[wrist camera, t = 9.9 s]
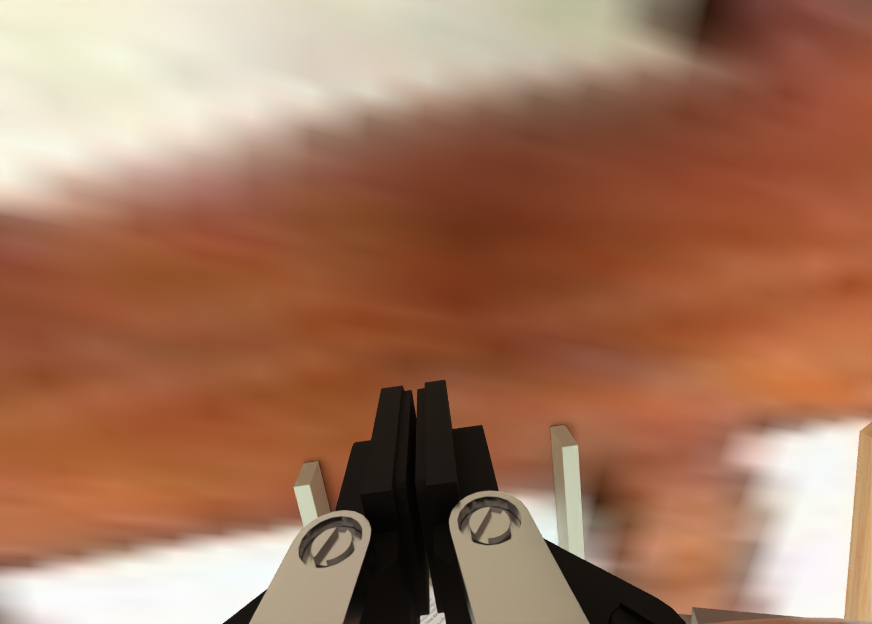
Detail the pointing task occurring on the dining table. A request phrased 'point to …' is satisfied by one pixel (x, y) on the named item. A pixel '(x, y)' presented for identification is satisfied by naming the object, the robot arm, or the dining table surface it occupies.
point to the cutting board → (861, 536)
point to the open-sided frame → (565, 482)
